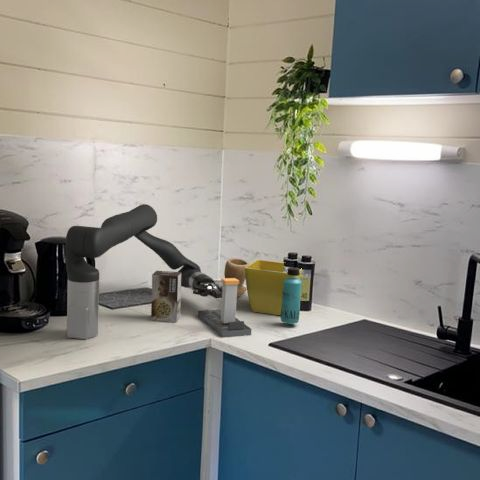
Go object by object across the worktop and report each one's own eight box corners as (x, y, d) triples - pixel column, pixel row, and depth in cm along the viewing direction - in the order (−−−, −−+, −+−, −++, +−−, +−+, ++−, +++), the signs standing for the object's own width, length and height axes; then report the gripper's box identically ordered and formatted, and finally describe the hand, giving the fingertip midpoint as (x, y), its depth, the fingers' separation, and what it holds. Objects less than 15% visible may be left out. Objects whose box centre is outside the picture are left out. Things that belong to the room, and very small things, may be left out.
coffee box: (180, 317, 208) (182, 271, 206) (176, 322, 202) (178, 275, 199) (154, 315, 209) (156, 269, 207) (150, 320, 203) (151, 273, 200)
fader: (236, 322, 197) (239, 280, 195) (223, 323, 196) (225, 281, 193) (232, 319, 201) (234, 278, 199) (219, 320, 199) (221, 278, 197)
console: (251, 335, 193) (252, 321, 193) (222, 337, 189) (222, 323, 189) (223, 314, 215) (224, 302, 214) (197, 316, 211) (197, 303, 210)
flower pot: (302, 307, 232) (305, 264, 229) (292, 320, 214) (296, 273, 211) (254, 301, 237) (257, 259, 234) (241, 313, 219) (244, 267, 216)
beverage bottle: (286, 321, 211) (290, 265, 208) (302, 325, 207) (307, 268, 204) (276, 325, 206) (280, 267, 203) (292, 329, 202) (297, 271, 199)
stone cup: (241, 301, 236) (243, 263, 233) (213, 296, 240) (215, 259, 237) (253, 293, 250) (256, 257, 248) (227, 289, 254) (229, 254, 252)
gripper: (184, 274, 219) (200, 285, 203) (218, 273, 224) (236, 284, 209) (184, 294, 220) (199, 307, 205) (217, 292, 226) (235, 305, 210)
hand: (218, 295), depth 207 cm, fingers closed
